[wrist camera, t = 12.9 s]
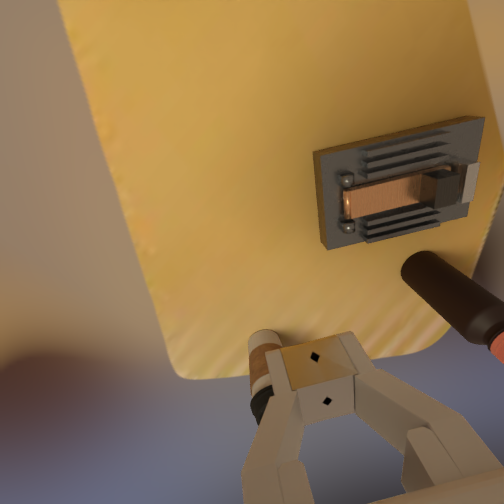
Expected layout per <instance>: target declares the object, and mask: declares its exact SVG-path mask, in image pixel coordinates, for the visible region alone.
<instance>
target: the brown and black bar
mask: <svg viewBox="0 0 504 504" xmlns="http://www.w3.org/2000/svg"><path fill="white" fill-rule="evenodd" d="M460 175H461V174H459V173H456V172H452V171H451V166H447V165H442V166H438V167H434V168H430V169H426V170H421V171H417V172H413V173H409V174H405V175H401V176H397V177H393V178H388V179H384V180H380V181H376V182H372V183H368V184H364V185H360V186H355V187H351V188H347V189H344V190H343V202H344V219H353V218H357V217H361V216H365V215H369V214H373V213H377V212H381V211H385V210H390V209H394V208H398V207H402V206H406V205H410V204H414V203H418V202H420V203H422V204H424V205H426V206H428V207H430V208H432V209H438V208H442V207H446V206H450V205H454V204H456V200H457V194H458V188H459V181H460Z"/></svg>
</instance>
